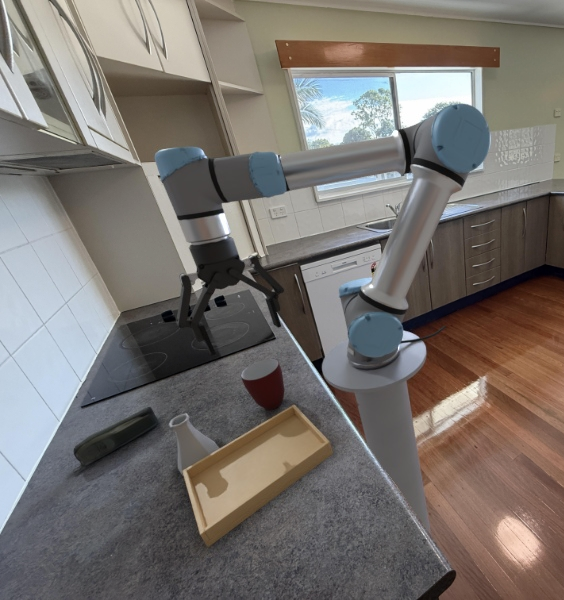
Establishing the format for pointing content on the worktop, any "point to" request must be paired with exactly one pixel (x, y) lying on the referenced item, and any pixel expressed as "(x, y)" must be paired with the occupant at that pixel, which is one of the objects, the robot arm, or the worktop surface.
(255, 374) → the mug
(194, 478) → the tray
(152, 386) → the worktop surface
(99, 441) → the dark green pencil case
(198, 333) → the robot arm
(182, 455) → the flask
